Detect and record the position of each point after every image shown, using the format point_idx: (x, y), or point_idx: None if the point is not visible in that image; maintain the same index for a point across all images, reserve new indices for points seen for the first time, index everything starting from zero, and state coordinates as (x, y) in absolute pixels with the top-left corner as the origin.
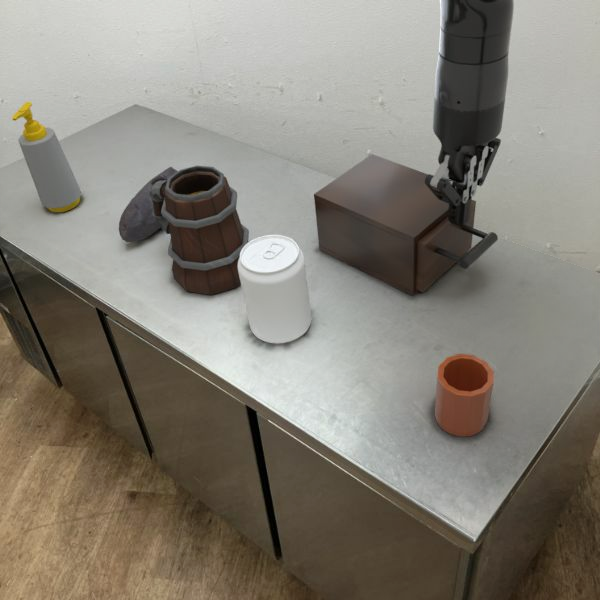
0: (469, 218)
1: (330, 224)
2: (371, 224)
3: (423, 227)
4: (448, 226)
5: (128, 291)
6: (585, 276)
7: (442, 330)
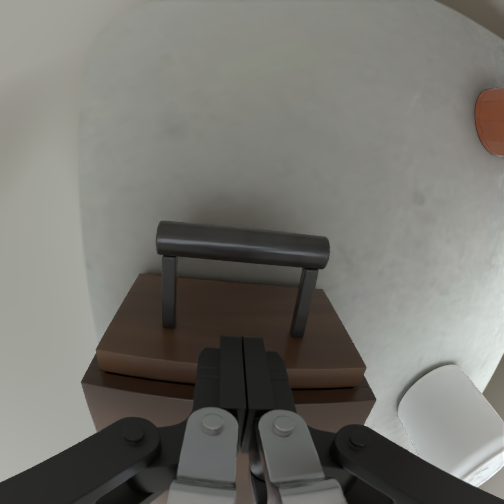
0: (221, 338)
1: None
2: None
3: (326, 408)
4: None
5: None
6: (93, 42)
7: (382, 210)
